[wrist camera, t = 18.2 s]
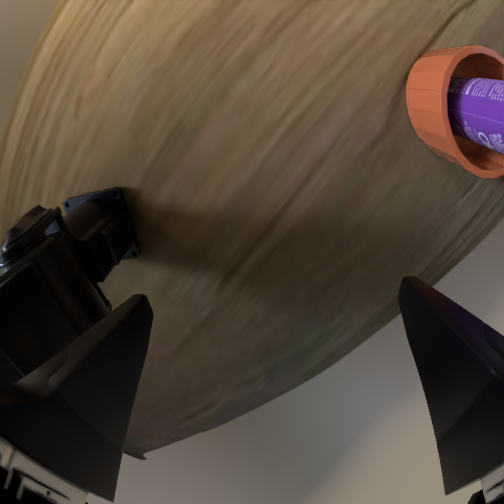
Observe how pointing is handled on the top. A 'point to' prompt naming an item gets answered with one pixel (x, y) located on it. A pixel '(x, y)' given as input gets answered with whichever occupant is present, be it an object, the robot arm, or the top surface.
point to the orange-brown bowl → (435, 105)
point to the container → (477, 110)
